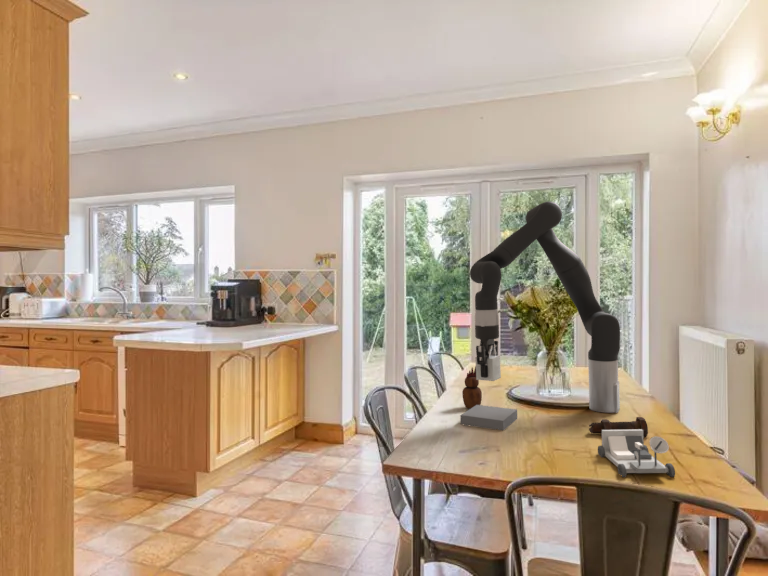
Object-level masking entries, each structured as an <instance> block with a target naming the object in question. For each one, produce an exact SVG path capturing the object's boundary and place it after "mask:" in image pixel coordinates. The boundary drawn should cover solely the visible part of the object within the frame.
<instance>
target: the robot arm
mask: <svg viewBox="0 0 768 576" xmlns="http://www.w3.org/2000/svg"><path fill="white" fill-rule="evenodd" d="M562 211H563V210H562V208H561V207H560V205H558V204H557V202H554V201H544V202H542V203H540V204H538V205H536V206H534V207H532V208H531V209H529V210H528V211H527V213H526V215H525V222H526V223H525V224H524V225H523V226H521V227H520V228H519V229H517V230H515V231H514V232H513V233H511V234H510V235H509V236H508V237H507V238H505V239H504V240H503V241H502V242H501V243H500V244H498V245H497V246H496V247H495V248H494V249H493V250H492V251H491V252H489V253H487V254H486V255H484V256H483V257H480V258H479V259H477V261H475V263H473V265H472V266H471V268H470V270H469V276H470V279H471V281H472V282H473V283H476V284H481V288H480V291H477V292H476V293H475V297H474V307H475V308H474V311H475V312H474V333H475V334H474V336H475V338H476V339H478V340H480V342H479V345H476V346H475V351H476V353H475V354H476V357H477V364H479V365H481V377H484V378H487V377H488V359H489V358H490V357H491V355H494V356H499V341H498V340H497V339H499V338H500V323H499V322H500V319H499V310H498V294H499V291H500V286H501V281H502V269H503V268H507V267H508V266H510V264H512V263H513V262H514V261H515V260H516V259H517V258H518V257H519V256H520V255H521V254H522V253H523V252H524V251H525V250H526V249H527V248H528V247H529V246H530V245H532V243H534V242H535V241H537V243H538V244H539V245H540V247H541V249H542V251H544V253H545V255H546V257H547V259H548V260H549V262H550V264H551V266H552V268H553V269H554V271H555V274H556V276H557V277H558V279H559V282H560V283H561V284H562V287H564V290H565V292H566V293H567V295H568V297H569V298H570V299H571V301H572V303H573V304H574V306H575V308H576V310H577V312H578V315H579V318H580V319H581V322H582V325H583V327H584V329H585V332H586V333H587V334H588V335H589V336H591V338H590V339H591V342H590V345H591V346H590V348H589V350H588V352H587V359H588V360H587V362H588V363H587V364H588V397H589V401H588V402H589V403H588V405H589V410H590V411H593V412H597V413H598V412H599V413H606V414H608V413H609V414H610V413H619V411H620V409H621V406H620V405H621V404H620V403H621V402H620V399H621V398H620V397H621V395H620V381H619V359H618V357H619V353H620V350H621V349H620V348H621V347H620V346H621V327H620V323H619V320H618V318H617V317H616V316H614V315H613V314H611V313H607V312H605V311H604V309H603V308H602V306H601V305H600V303H599V301H598V299H597V298H596V296H595V293H594V290H593V285H592V280H591V277H590V275H589V272H588V270H587V268H586V266H585V265H584V262H583V260H582V259H581V257H580V256H579V255H578V254H577V253H576V252H574V251H573V250H572V249H571V248H569V247H568V246H566V244H564V243H563V242H562V241H561V240H560V239H559V237H558V236H557V235H556V233H555V231H554V229H553V228H556V226H558V225H559V224H560V222H561V220H562V218H563V212H562ZM482 359H483V361H482Z"/></svg>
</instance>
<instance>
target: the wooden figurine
mask: <svg viewBox="0 0 768 576" xmlns="http://www.w3.org/2000/svg"><path fill="white" fill-rule="evenodd" d="M479 383H480V380H476V365H475V366H474V368H473V367H471V370H469V372H467V373H466V377H465V378H464V385H465V387H463V389H462V392H461V394H462V401H463V404H464V406H465V408H466V409H468V410H469V409H471V408H472V407H474V406H475V405H482V397H483V394H482V389H481V388H480V387H479V385H480V384H479Z"/></svg>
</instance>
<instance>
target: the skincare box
mask: <svg viewBox="0 0 768 576" xmlns="http://www.w3.org/2000/svg"><path fill="white" fill-rule="evenodd" d="M474 359H475V366H476V380H479V381H489V382H495V381H497V380H500V379H501V377H502V375H501V373H502V372H501V371H502V370H501V357H500V355H498V356H494V355H491V357H490V358H489V359H488V377H487V378H484V377H481V365H479V364H477V356H476V357H475V358H474ZM482 361H483V359H482Z"/></svg>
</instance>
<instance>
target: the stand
mask: <svg viewBox="0 0 768 576" xmlns="http://www.w3.org/2000/svg"><path fill="white" fill-rule="evenodd" d="M459 417H460V418H459V419H460V425H461V424H464V425H463V426H468V425H470V427H476V428H481V429H482V428H484V429H488V430H489V429H491V430H496V429H498V430H497V431H503V430H504V431H505V430H506V429H508V427H509V426H510V425H512V424H513V423H514V422H515V421H516V420H518V409H517V408H509V407H498V406H489V405H482V404H481V405H475V406H474V407H472V408H471V409H469V408H468V410H466V411H464V412H463V413H461V414H460V415H459Z"/></svg>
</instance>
